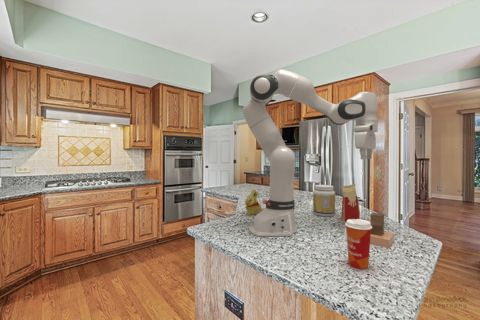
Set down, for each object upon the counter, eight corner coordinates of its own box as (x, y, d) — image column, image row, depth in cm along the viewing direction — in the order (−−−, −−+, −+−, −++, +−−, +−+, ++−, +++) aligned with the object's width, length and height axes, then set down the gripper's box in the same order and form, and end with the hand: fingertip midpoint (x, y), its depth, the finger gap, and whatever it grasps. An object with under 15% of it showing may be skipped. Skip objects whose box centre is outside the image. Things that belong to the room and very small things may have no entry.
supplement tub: (311, 211, 145) (311, 184, 145) (332, 212, 144) (332, 184, 143) (315, 216, 133) (315, 187, 133) (337, 217, 132) (337, 187, 131)
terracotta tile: (389, 248, 89) (389, 240, 89) (360, 241, 96) (360, 234, 95) (394, 240, 96) (394, 233, 96) (367, 235, 103) (367, 228, 103)
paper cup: (340, 260, 79) (340, 218, 79) (362, 259, 80) (362, 218, 79) (353, 271, 71) (354, 225, 71) (377, 270, 72) (378, 225, 72)
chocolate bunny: (243, 214, 140) (243, 189, 139) (260, 212, 144) (259, 188, 143) (248, 217, 133) (247, 190, 133) (265, 215, 137) (265, 189, 137)
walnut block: (381, 236, 93) (381, 216, 93) (370, 233, 96) (370, 214, 96) (383, 233, 96) (384, 214, 96) (372, 231, 99) (373, 212, 98)
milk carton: (358, 219, 127) (358, 182, 126) (360, 224, 118) (361, 184, 118) (339, 218, 130) (339, 182, 129) (341, 223, 121) (341, 184, 121)
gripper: (365, 130, 116) (365, 158, 116) (351, 127, 101) (351, 159, 101) (379, 129, 112) (379, 158, 112) (368, 126, 97) (367, 159, 97)
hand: (366, 159), depth 107 cm, fingers open, 8 cm apart
